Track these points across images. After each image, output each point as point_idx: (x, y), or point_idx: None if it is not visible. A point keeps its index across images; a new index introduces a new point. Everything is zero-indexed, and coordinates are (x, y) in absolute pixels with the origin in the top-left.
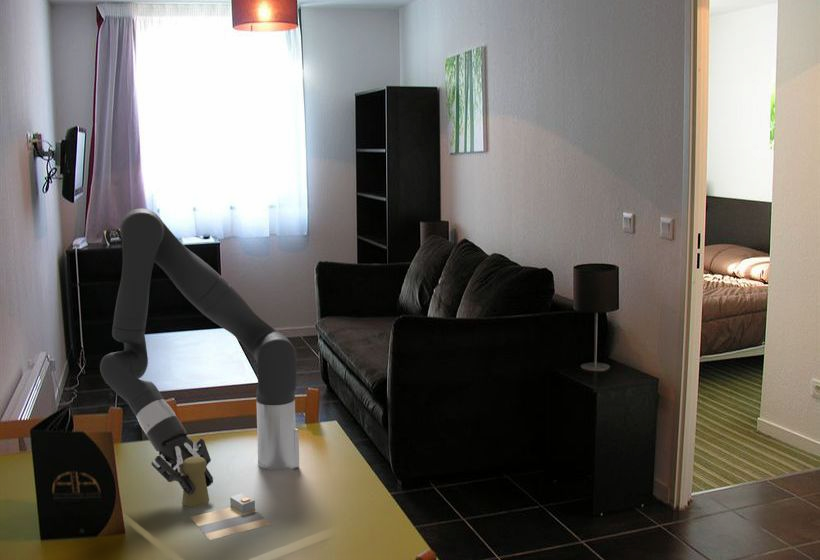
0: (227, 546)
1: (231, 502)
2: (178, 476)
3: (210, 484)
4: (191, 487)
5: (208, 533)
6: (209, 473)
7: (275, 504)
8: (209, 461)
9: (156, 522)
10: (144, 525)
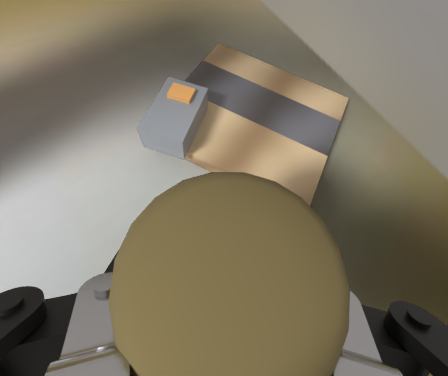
0: (318, 82)
1: (186, 146)
2: (364, 309)
3: None
4: None
5: (333, 115)
6: None
7: (97, 99)
8: (27, 290)
9: None
10: None
